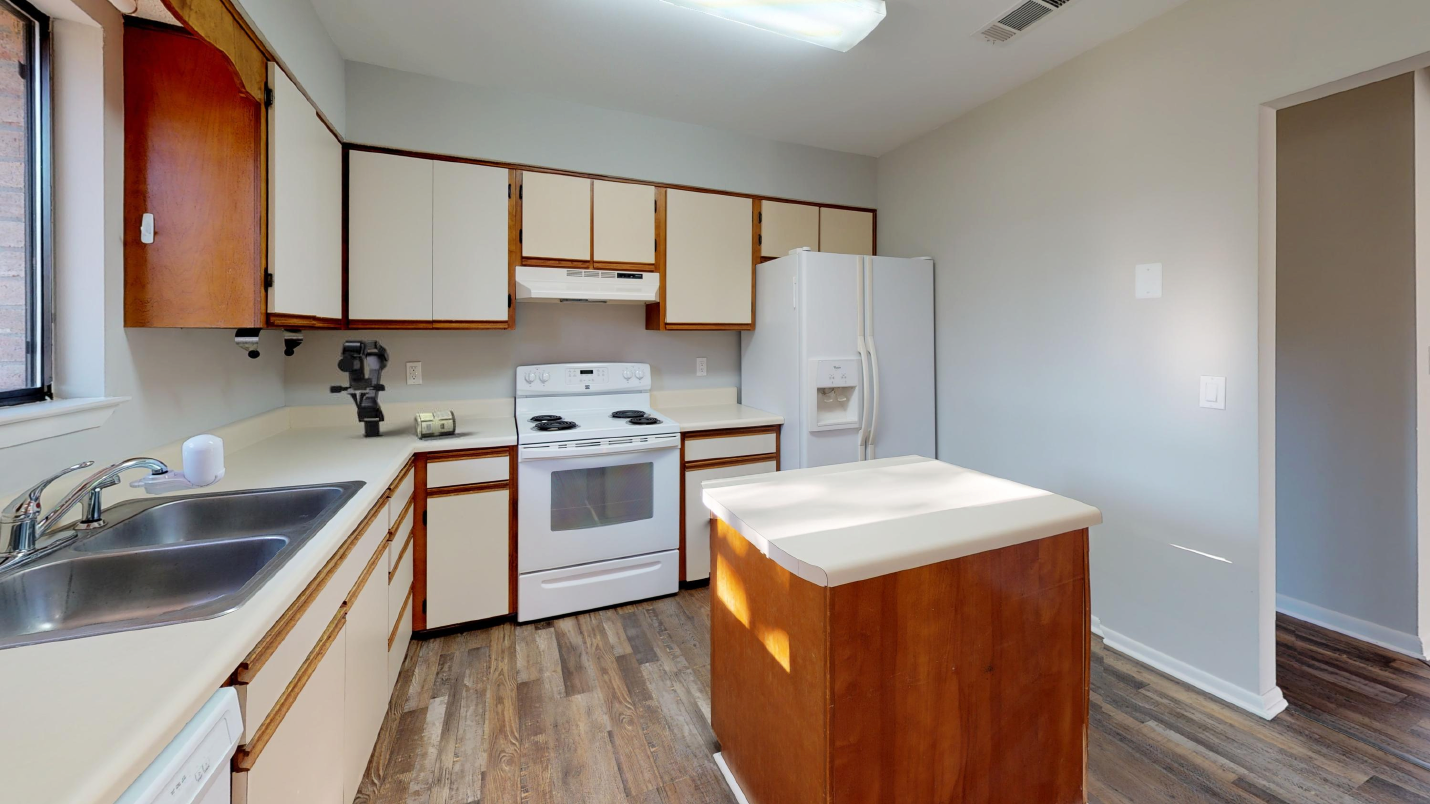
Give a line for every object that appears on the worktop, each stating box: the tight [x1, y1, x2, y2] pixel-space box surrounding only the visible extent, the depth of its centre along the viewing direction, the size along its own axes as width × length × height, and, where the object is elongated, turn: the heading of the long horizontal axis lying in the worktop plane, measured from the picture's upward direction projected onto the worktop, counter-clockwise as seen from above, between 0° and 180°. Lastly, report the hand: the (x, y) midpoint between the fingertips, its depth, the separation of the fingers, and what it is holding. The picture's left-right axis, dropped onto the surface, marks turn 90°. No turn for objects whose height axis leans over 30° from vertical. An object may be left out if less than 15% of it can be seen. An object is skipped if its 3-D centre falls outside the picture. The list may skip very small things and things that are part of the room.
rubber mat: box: [412, 431, 461, 441], centre depth 243 cm, size 20×14×1 cm
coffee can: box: [413, 410, 457, 439], centre depth 238 cm, size 10×10×14 cm
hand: (358, 409), depth 227 cm, fingers closed
